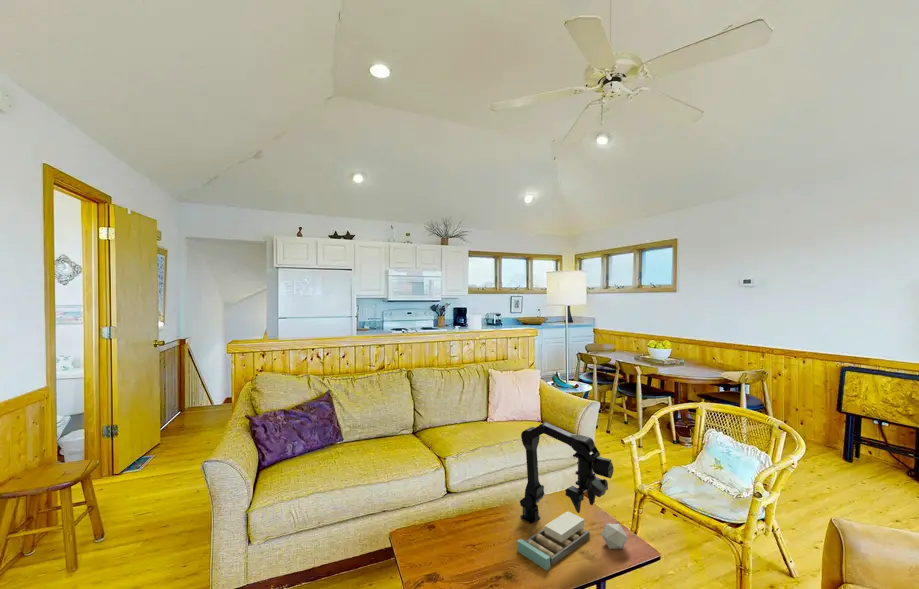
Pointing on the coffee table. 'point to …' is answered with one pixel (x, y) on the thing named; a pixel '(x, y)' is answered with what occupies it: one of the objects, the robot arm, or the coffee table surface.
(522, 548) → the stop bar
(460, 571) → the coffee table surface
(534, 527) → the coffee table surface
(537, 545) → the roller bed
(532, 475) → the robot arm
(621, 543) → the die
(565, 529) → the slab
